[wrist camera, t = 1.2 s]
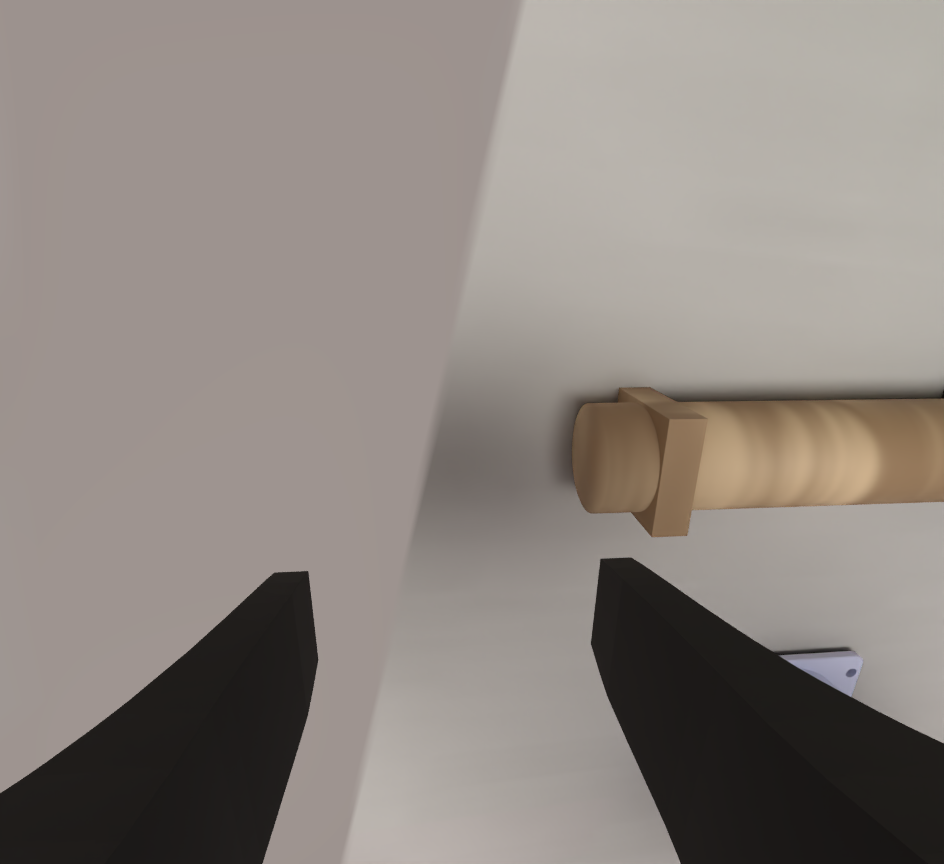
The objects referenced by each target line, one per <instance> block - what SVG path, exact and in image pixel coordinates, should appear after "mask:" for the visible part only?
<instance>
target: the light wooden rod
mask: <svg viewBox="0 0 944 864" xmlns="http://www.w3.org/2000/svg"><path fill="white" fill-rule="evenodd" d="M572 465H573V475H574V481H575V486H576V490H577V493H578V496H579V499H580V501H581V504H582V505H583V507H584V508H585V510H586V511H587V512H589V513H620V512H631V513H632V514H633V515H634V516H635V518H636V519H637V520H638V521H639V522H640V524H641V525H642V526H643V527H644V528H645V530H646V531H647V532H648V533H649V534H650V536H651V537H668V536H687V533H688V528H689V522H690V517H691V511H692V510H709V509H739V508H769V507H799V506H828V505H858V504H888V503H918V502H944V391H943V394H942V397H941V399H875V400H794V401H714V402H676V401H674V400H672V399H670V398H669V397H667V396H665V395H663V394H661V393H659V392H658V391H656V390H654V389H652V388H650V387H637V388H619V394H618V403H586V404H584V405H583V406H582V407H581V409H580V411H579V413H578V415H577V418H576V421H575V426H574V431H573V440H572Z"/></svg>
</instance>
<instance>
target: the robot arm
mask: <svg viewBox="0 0 944 864" xmlns="http://www.w3.org/2000/svg"><path fill="white" fill-rule="evenodd" d="M591 645H592V649H593V652H594V655H595V659H596V662H597V665H598V669H599V672H600V675H601V678H602V681H603V684H604V687H605V690H606V693H607V696H608V699H609V701H610V703H611V705H612V708H613V710H614V712H615V715H616V717H617V719H618V721H619V724H620V726H621V728H622V730H623V733H624V735H625V737H626V739H627V742H628V744H629V746H630V748H631V750H632V753H633V755H634V757H635V759H636V761H637V764H638V766H639V768H640V770H641V773H642V775H643V777H644V779H645V781H646V784H647V786H648V788H649V790H650V792H651V795H652V797H653V799H654V801H655V804H656V806H657V808H658V810H659V812H660V815H661V817H662V819H663V821H664V823H665V826H666V828H667V831H668V833H669V835H670V838H671V840H672V843H673V845H674V848H675V850H676V852H677V855H678V857H679V860H680V863H681V864H944V743H941V742H939V741H937V740H935V739H933V738H931V737H929V736H927V735H925V734H922V733H920V732H918V731H916V730H914V729H912V728H910V727H908V726H906V725H904V724H902V723H900V722H898V721H896V720H894V719H892V718H890V717H888V716H886V715H884V714H882V713H880V712H878V711H876V710H874V709H872V708H870V707H869V706H867V705H865V704H863V703H861V702H859V701H857V700H856V699H854V698H852V694H853V691H854V688H855V685H856V682H857V679H858V676H859V674H860V671H861V668H862V665H863V659H862V657H861V656H860V655H858V654H857V653H856V652H854V651H841V652H825V653H810V654H794V655H777V654H775V653H774V652H772V651H770V650H769V649H767V648H765V647H764V646H762V645H761V644H759V643H757V642H756V641H754V640H753V639H751V638H749V637H748V636H746V635H745V634H743V633H742V632H740V631H739V630H737V629H736V628H734V627H733V626H731V625H730V624H728V623H727V622H725V621H724V620H722V619H721V618H719V617H718V616H716V615H715V614H713V613H712V612H710V611H709V610H707V609H706V608H704V607H703V606H701V605H700V604H699V603H697V602H696V601H694V600H693V599H691V598H690V597H688V596H687V595H686V594H684V593H683V592H681V591H680V590H678V589H677V588H676V587H674V586H673V585H671V584H670V583H668V582H667V581H666V580H664V579H663V578H661V577H660V576H658V575H657V574H656V573H654V572H653V571H651V570H650V569H648V568H647V567H645V566H644V565H642V564H641V563H639V562H637V561H636V560H634V559H633V558H609V559H601V560H600V569H599V578H598V587H597V595H596V604H595V613H594V622H593V630H592V639H591ZM317 663H318V653H317V644H316V636H315V627H314V618H313V609H312V600H311V592H310V583H309V574H308V571H302V572H278V573H274V574H272V576H270V577H269V578H268V579H267V580H266V581H265V582H263V583H262V584H261V585H260V586H259V587H258V588H257V589H256V590H255V591H254V592H253V593H252V594H250V595H249V596H248V597H247V598H246V599H245V600H244V601H243V602H242V603H241V604H240V605H239V606H238V607H237V608H235V609H234V610H233V611H232V612H231V613H230V614H229V615H228V616H227V617H226V618H225V619H224V620H222V621H221V622H220V623H219V624H218V625H217V626H216V627H215V628H214V629H213V630H211V631H210V632H209V633H208V634H207V635H206V636H205V637H204V638H203V639H201V640H200V641H199V642H198V643H197V644H196V645H195V646H194V647H193V648H191V649H190V650H189V651H188V652H187V653H186V654H184V655H183V656H182V657H181V658H180V659H178V660H177V661H176V662H175V663H174V664H173V665H171V666H170V667H169V668H168V669H166V670H165V671H164V672H163V673H162V674H160V675H159V676H158V677H157V678H156V679H154V680H153V681H152V682H151V683H150V684H148V685H147V686H146V687H145V688H144V689H142V690H141V691H140V692H139V693H138V694H136V695H135V696H134V697H133V698H132V699H131V700H129V701H128V702H127V703H125V704H124V705H123V706H122V707H120V708H119V709H118V710H117V711H115V712H114V713H113V714H111V715H110V716H109V717H107V718H106V719H105V720H104V721H102V722H101V723H99V724H98V725H97V726H96V727H94V728H93V729H91V730H90V731H89V732H87V733H86V734H85V735H83V736H82V737H81V738H79V739H78V740H77V741H75V742H74V743H72V744H71V745H69V746H68V747H67V748H66V749H64V750H63V751H61V752H60V753H59V754H57V755H56V756H54V757H53V758H52V759H50V760H49V761H48V762H46V763H45V764H43V765H42V766H40V767H39V768H38V769H36V770H35V771H33V772H32V773H30V774H29V775H27V776H26V777H24V778H23V779H21V780H20V781H18V782H17V783H15V784H14V785H12V786H11V787H9V788H8V789H6V790H5V791H3V792H2V793H0V864H262V863H263V860H264V857H265V853H266V850H267V847H268V844H269V841H270V837H271V834H272V831H273V828H274V824H275V821H276V818H277V815H278V811H279V808H280V805H281V802H282V798H283V795H284V792H285V789H286V785H287V782H288V779H289V776H290V772H291V769H292V766H293V763H294V760H295V756H296V753H297V750H298V746H299V743H300V740H301V736H302V733H303V730H304V726H305V723H306V719H307V716H308V712H309V707H310V702H311V696H312V691H313V686H314V680H315V675H316V669H317Z"/></svg>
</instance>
